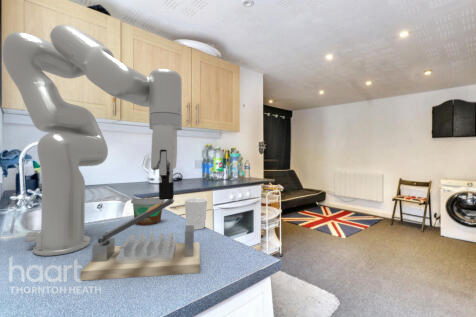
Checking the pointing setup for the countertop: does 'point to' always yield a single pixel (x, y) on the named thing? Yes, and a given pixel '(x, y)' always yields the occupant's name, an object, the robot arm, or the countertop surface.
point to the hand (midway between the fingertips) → (166, 198)
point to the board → (143, 266)
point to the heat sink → (143, 249)
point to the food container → (143, 206)
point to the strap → (136, 220)
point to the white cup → (196, 212)
